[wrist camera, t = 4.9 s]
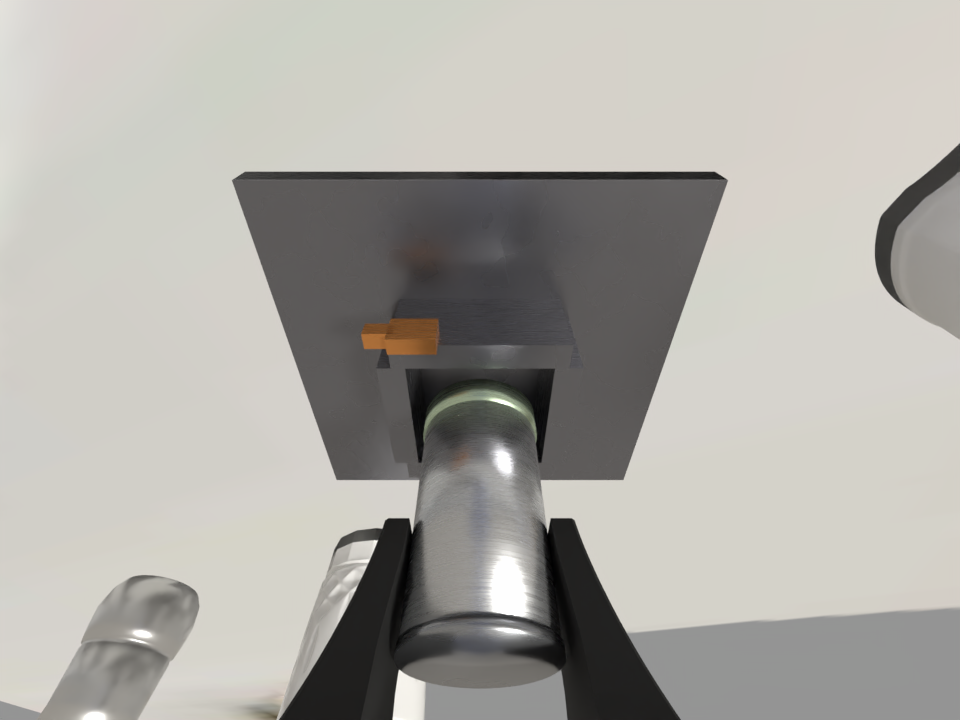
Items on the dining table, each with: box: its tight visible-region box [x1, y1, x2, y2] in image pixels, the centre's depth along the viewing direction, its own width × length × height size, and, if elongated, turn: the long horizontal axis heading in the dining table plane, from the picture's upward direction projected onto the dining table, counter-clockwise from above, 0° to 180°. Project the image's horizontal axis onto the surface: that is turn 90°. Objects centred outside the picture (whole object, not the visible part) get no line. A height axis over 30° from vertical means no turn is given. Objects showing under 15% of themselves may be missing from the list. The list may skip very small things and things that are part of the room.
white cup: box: [276, 528, 426, 720], centre depth 27 cm, size 8×8×10 cm
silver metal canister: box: [394, 379, 566, 689], centre depth 13 cm, size 4×4×8 cm
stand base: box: [232, 172, 728, 480], centre depth 18 cm, size 16×16×4 cm
